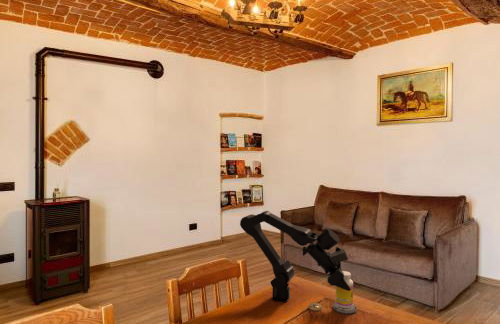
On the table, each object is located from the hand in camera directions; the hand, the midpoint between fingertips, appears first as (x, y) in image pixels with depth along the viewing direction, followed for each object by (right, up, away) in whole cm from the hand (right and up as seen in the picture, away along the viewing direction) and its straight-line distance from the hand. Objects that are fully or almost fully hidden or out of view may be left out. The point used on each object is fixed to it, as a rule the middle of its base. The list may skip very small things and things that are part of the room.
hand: (348, 285), depth 138 cm
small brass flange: (-13, -9, +1) cm, 16 cm away
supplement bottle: (-2, -8, +1) cm, 8 cm away
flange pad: (-1, -10, +1) cm, 10 cm away
